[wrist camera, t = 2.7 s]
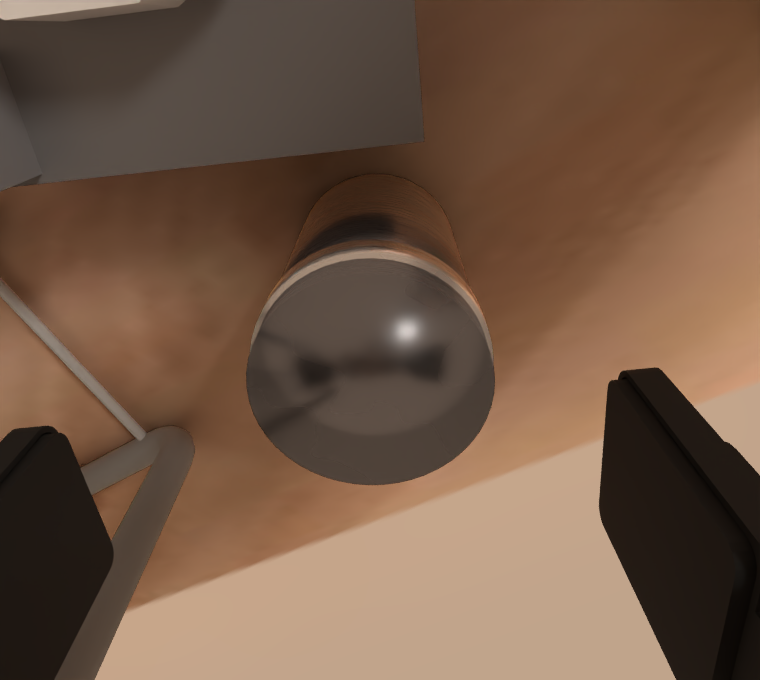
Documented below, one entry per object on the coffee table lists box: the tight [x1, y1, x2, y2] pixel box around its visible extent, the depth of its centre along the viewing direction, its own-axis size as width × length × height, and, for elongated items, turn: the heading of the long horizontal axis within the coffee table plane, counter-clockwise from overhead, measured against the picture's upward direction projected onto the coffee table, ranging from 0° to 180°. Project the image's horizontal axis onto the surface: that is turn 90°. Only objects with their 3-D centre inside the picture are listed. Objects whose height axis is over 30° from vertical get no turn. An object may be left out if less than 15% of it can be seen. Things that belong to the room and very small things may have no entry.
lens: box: [246, 174, 495, 485], centre depth 15 cm, size 5×5×8 cm
